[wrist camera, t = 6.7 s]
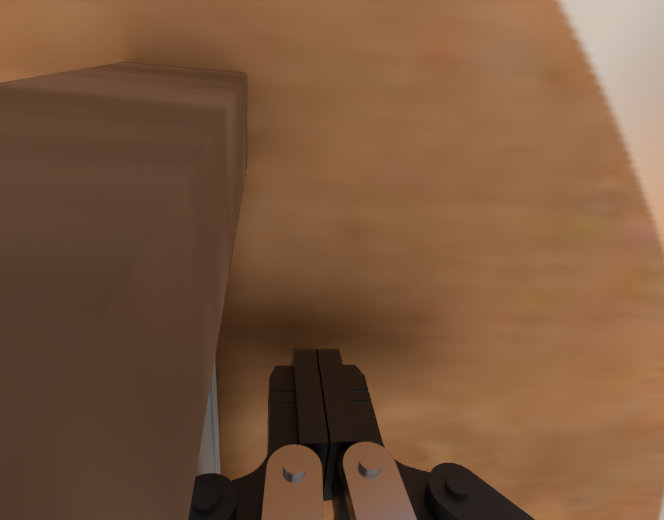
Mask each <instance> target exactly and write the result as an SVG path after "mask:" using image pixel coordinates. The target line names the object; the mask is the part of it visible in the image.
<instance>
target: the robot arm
mask: <svg viewBox="0 0 664 520" xmlns="http://www.w3.org/2000/svg"><path fill="white" fill-rule="evenodd" d="M327 500H332V503H333V510H334V518H333V520H535V519H533V518H532V517H531V516H529V515H528V514H527V513H525V512H524V511H523V510H521V509H520V508H519V507H517V506H516V505H515V504H513V503H512V502H511V501H509V500H508V499H507V498H505V497H504V496H503V495H501V494H500V493H499V492H498V491H496V490H495V489H494V488H492V487H491V486H490V485H488V484H487V483H486V482H484V481H483V480H482V479H480V478H479V477H478V476H476V475H475V474H474V473H472V472H471V471H470V470H468V469H467V468H465V467H463V466H461V465H458V464H454V463H442V464H439V465H437V466H436V467H434V468H433V469H432V471H431V473H430V472H426V471H422V470H418V469H414V468H411V467H408V466H405V465H403V464H401V463H399V462H398V461H396V460H395V459H394V458H393V456H392V455H391V454H390V452H389V451H388V450H386V449H385V447H384V445H383V442H382V439H381V435H380V431H379V428H378V424H377V420H376V417H375V413H374V409H373V406H372V403H371V398H370V395H369V392H368V387H367V383H366V380H365V376H364V375H363V374H362V373H361V371H360V370H359V369H358V368H357V367H356V365H343V364H342V360H341V355H340V351H339V349H316V350H315V349H293V350H292V361H291V366H276V367H275V369H274V370H273V372H272V374H271V376H270V377H269V398H268V453H267V457H266V459H265V460H264V462H263V463H262V465H261V466H260V467H259V468H258V469H256V470H255V471H254V472H252V473H250V474H248V475H246V476H244V477H241V478H238V479H236V480H233V481H230V480H229V479H228V478H227V477H225V476H223V475H220V474H215V473H207V474H202V475H199V476H196V477H195V482H194V488H193V494H192V500H191V506H190V512H189V518H188V520H324V512H323V501H327Z"/></svg>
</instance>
